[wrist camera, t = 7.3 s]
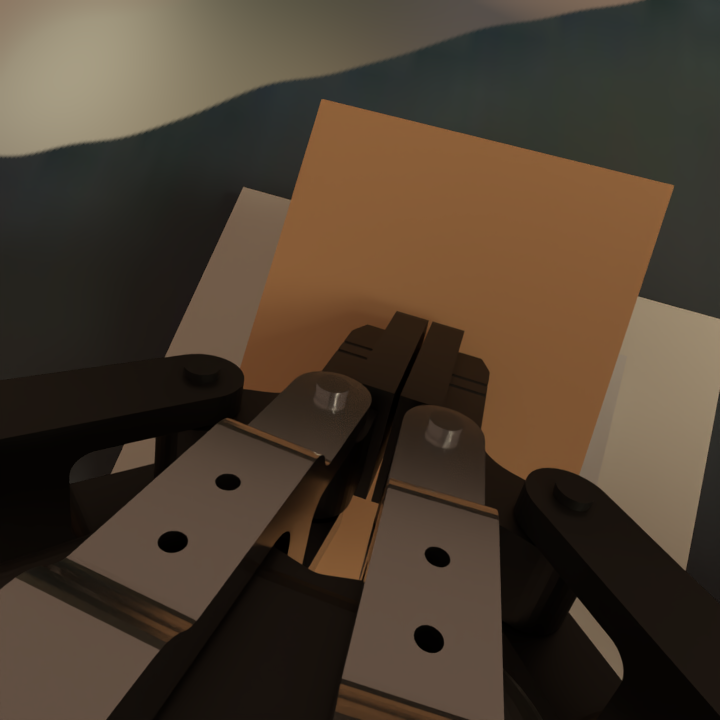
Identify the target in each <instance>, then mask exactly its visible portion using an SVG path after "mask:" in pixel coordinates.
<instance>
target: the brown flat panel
mask: <svg viewBox="0 0 720 720" xmlns="http://www.w3.org/2000/svg"><path fill="white" fill-rule="evenodd" d="M673 188H674V185H670V184H666V183H662V182H658V181H654V180H650V179H646V178H641V177H637V176H633V175H629V174H625V173H621V172H617V171H613V170H609V169H605V168H601V167H597V166H593V165H589V164H585V163H580V162H576V161H572V160H568V159H564V158H560V157H556V156H552V155H548V154H544V153H540V152H536V151H532V150H528V149H523V148H519V147H515V146H511V145H507V144H503V143H499V142H495V141H491V140H487V139H483V138H479V137H475V136H471V135H467V134H462V133H458V132H454V131H450V130H446V129H442V128H438V127H434V126H430V125H426V124H422V123H418V122H414V121H410V120H405V119H401V118H397V117H393V116H389V115H385V114H381V113H377V112H373V111H369V110H365V109H361V108H357V107H353V106H349V105H344V104H340V103H336V102H332V101H328V100H324V99H322V100H321V103H320V107H319V110H318V113H317V116H316V120H315V123H314V126H313V130H312V133H311V136H310V139H309V143H308V146H307V149H306V153H305V156H304V159H303V162H302V166H301V169H300V172H299V176H298V179H297V182H296V185H295V189H294V192H293V195H292V199H291V202H290V205H289V208H288V212H287V215H286V218H285V222H284V225H283V228H282V231H281V235H280V238H279V241H278V245H277V248H276V251H275V254H274V258H273V261H272V264H271V268H270V271H269V274H268V277H267V281H266V284H265V287H264V291H263V294H262V297H261V300H260V304H259V307H258V310H257V314H256V317H255V320H254V323H253V327H252V330H251V333H250V337H249V340H248V343H247V346H246V350H245V353H244V356H243V360H242V363H241V366H240V369H241V370H242V372H243V374H244V386H243V389H248V390H256V391H264V392H274V393H281V392H282V391H283V390H284V389H285V388H286V387H287V386H288V385H289V384H290V383H291V382H292V381H293V380H295V379H296V378H297V377H298V376H300V375H302V374H305V373H308V372H315V371H322V370H323V368H324V367H325V366H326V364H327V363H328V362H329V360H330V359H331V358H332V356H333V355H334V354H335V352H336V351H338V348H339V347H340V346H341V344H342V343H343V342H344V340H345V339H346V338H347V336H348V335H349V334H350V332H351V331H352V330H354V329H357V328H359V327H362V326H365V325H367V324H368V325H371V326H374V327H378V328H381V329H384V330H385V329H386V327H387V326H388V324H389V322H390V321H391V319H392V318H393V316H394V314H395V313H396V311H399V312H403V313H406V314H409V315H413V316H416V317H419V318H423V319H426V320H429V321H428V326H427V330H426V334H425V337H424V340H425V338H426V335H427V333H428V331H429V328H430V326H431V324H432V322H437V323H440V324H443V325H447V326H450V327H453V328H457V329H460V330H463V331H464V335H463V338H462V342H461V345H460V349H459V352H461V353H464V354H467V355H470V356H474V357H477V358H480V359H482V360H483V362H484V363H485V365H486V367H487V368H488V370H489V372H490V375H489V382H488V386H487V387H488V388H487V395H486V401H485V407H484V414H483V420H482V427H481V430H482V432H483V434H484V436H485V451H486V452H487V454H488V455H489V456H490V457H491V458H492V459H493V460H494V461H495V462H497V463H498V464H499V465H500V466H502V467H503V468H505V469H506V470H508V471H510V472H511V473H513V474H515V475H517V476H519V477H521V478H522V479H524V480H526V478H527V476H528V475H529V474H530V473H531V472H532V471H534V470H536V469H540V468H557V469H562V470H566V471H569V472H572V473H575V474H577V475H579V474H580V471H581V468H582V465H583V462H584V459H585V456H586V453H587V450H588V447H589V444H590V441H591V438H592V435H593V431H594V428H595V425H596V422H597V419H598V416H599V413H600V410H601V407H602V404H603V401H604V398H605V395H606V392H607V389H608V386H609V383H610V380H611V377H612V374H613V371H614V368H615V364H616V361H617V358H618V355H619V352H620V349H621V346H622V343H623V340H624V337H625V334H626V331H627V328H628V325H629V322H630V319H631V316H632V313H633V310H634V307H635V304H636V300H637V297H638V294H639V291H640V288H641V285H642V282H643V279H644V276H645V273H646V270H647V267H648V264H649V261H650V258H651V255H652V252H653V249H654V246H655V243H656V240H657V237H658V233H659V230H660V227H661V224H662V221H663V218H664V215H665V212H666V209H667V206H668V203H669V200H670V197H671V194H672V191H673ZM423 342H424V341H423ZM382 460H383V459H382ZM381 463H382V461H381ZM380 467H381V464H380V466H379V469H378V471H377V473H376V476H375V478H374V481H373V483H372V486H371V488H370V491H369V493H368V495H367V498H366V499H363V498H360V497H357V496H354V495H353V497H352V499H351V501H350V504H349V505H348V507H347V508H346V509H345V510H344V513H343V517H342V521H341V524H340V527H339V528H338V530H337V532H336V534H335V535H334V537H333V539H332V541H331V543H330V544H329V546H328V548H327V550H326V551H325V553H324V555H323V557H322V558H321V560H320V562H319V564H318V565H317V567H316V569H315V571H314V572H316V573H319V574H323V575H330V576H336V577H343V578H350V579H356V580H358V579H359V575H360V571H361V567H362V563H363V559H364V555H365V552H366V548H367V544H368V540H369V536H370V533H371V529H372V526H373V522H374V519H375V516H376V512H377V508H378V505H379V504H378V503H375V502H372V501H371V499H372V496H373V492H374V488H375V485H376V481H377V478H378V474H379V470H380Z"/></svg>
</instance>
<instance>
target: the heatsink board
mask: <svg viewBox="0 0 720 720" xmlns="http://www.w3.org/2000/svg"><path fill="white" fill-rule="evenodd" d="M290 202H291V200H289V199H285V198H281V197H278V196H274V195H271V194H267V193H263V192H260V191H256V190H253V189H249V188H245V187H243V189H242V191H241V193H240V196H239V198H238V200H237V202H236V204H235V206H234V209H233V211H232V213H231V215H230V217H229V219H228V221H227V224H226V226H225V228H224V230H223V232H222V234H221V237H220V239H219V241H218V243H217V245H216V247H215V250H214V252H213V254H212V256H211V258H210V260H209V263H208V265H207V267H206V269H205V271H204V273H203V276H202V278H201V280H200V282H199V284H198V286H197V289H196V291H195V293H194V295H193V297H192V299H191V302H190V304H189V306H188V308H187V310H186V312H185V315H184V317H183V319H182V321H181V323H180V325H179V327H178V330H177V332H176V334H175V336H174V338H173V340H172V343H171V345H170V347H169V349H168V351H167V353H166V356H165V357H171V356H178V355H185V354H207V355H214V356H217V357H221V358H224V359H227V360H229V361H231V362H232V363H234V364H236V365H237V366H238V367H239V368H240V366H241V363H242V360H243V356H244V353H245V350H246V346H247V343H248V340H249V337H250V333H251V330H252V327H253V323H254V320H255V317H256V314H257V310H258V307H259V304H260V300H261V297H262V294H263V291H264V287H265V284H266V281H267V277H268V274H269V271H270V268H271V264H272V261H273V258H274V254H275V251H276V248H277V245H278V241H279V238H280V235H281V231H282V228H283V225H284V222H285V218H286V215H287V212H288V208H289V205H290ZM719 390H720V319H717V318H714V317H710V316H706V315H703V314H699V313H696V312H692V311H688V310H685V309H681V308H678V307H674V306H670V305H667V304H663V303H660V302H656V301H652V300H649V299H645V298H642V297H637V300H636V304H635V307H634V310H633V313H632V316H631V319H630V322H629V325H628V328H627V331H626V334H625V337H624V340H623V343H622V346H621V349H620V352H619V355H618V358H617V361H616V364H615V368H614V371H613V374H612V377H611V380H610V383H609V386H608V389H607V392H606V395H605V398H604V401H603V404H602V407H601V410H600V413H599V416H598V419H597V422H596V425H595V428H594V431H593V435H592V438H591V441H590V444H589V447H588V450H587V453H586V456H585V459H584V462H583V465H582V468H581V471H580V474H579V476H581V477H583V478H585V479H587V480H589V481H590V482H592V483H594V484H595V485H596V486H598V487H599V488H600V489H601V490H603V491H604V492H605V493H606V494H607V495H608V496H609V497H610V498H611V499H612V500H613V501H614V502H615V503H616V504H617V505H618V506H619V507H620V508H621V509H622V510H623V511H624V512H625V513H626V514H627V515H628V516H630V517H631V518H632V519H633V520H634V521H635V522H636V523H637V524H638V525H639V526H640V527H641V528H642V529H643V530H644V531H645V532H646V533H647V534H648V535H649V536H650V537H651V538H652V539H653V540H654V541H655V542H656V543H657V544H658V545H659V546H660V547H661V548H662V549H663V550H664V551H665V552H667V553H668V554H669V555H670V556H671V557H672V558H673V559H674V560H675V561H676V562H677V563H678V564H679V565H680V566H681V567H682V568H683V569H684V570H685V571H686V567H687V562H688V556H689V551H690V545H691V540H692V535H693V529H694V524H695V519H696V513H697V508H698V503H699V497H700V492H701V487H702V481H703V476H704V470H705V465H706V460H707V454H708V449H709V444H710V438H711V433H712V428H713V422H714V417H715V412H716V406H717V401H718V395H719ZM155 438H156V437H155ZM155 438H151V439H146V440H142V441H137V442H133V443H128V444H124V446H123V449H122V451H121V453H120V455H119V457H118V459H117V462H116V464H115V466H114V468H113V470H112V472H111V474H113V473H117V472H121V471H125V470H129V469H133V468H137V467H141V466H145V465H149V464H153V463H154V460H155ZM569 613H570V614H571V616H572V617H573V618H574V619H575V621H576V622H577V623H578V625H579V626H580V627H581V628H582V630H583V631H584V632H585V634H586V635H587V636H588V637H589V639H590V640H591V641H592V643H593V644H594V645H595V647H596V648H597V649H598V650H599V652H600V653H601V654H602V656H603V657H604V658H605V659H606V661H607V662H608V663H609V665H610V666H611V667H612V668H613V670H614V671H615V672H616V674H617V675H618V676H619V677H620V679H621V680H622V679H623V664H622V660H621V656H620V654H619V651H618V649H617V647H616V646H615V644H614V642H613V641H612V640H611V638H610V637H609V636H608V635H607V633H606V632H605V631H604V630H603V628H602V627H601V626H600V625H599V624H598V622H597V621H596V620H595V619H594V617H593V616H592V615H591V614H590V612H589V611H588V610H587V609H586V607H585V606H584V605H583V604H582V602H581V601H580V600H579V599H578V598H576V600H575V602H574V603H573V605H572V607H571V609H570V611H569Z"/></svg>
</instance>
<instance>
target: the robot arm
mask: <svg viewBox="0 0 720 720" xmlns="http://www.w3.org/2000/svg"><path fill="white" fill-rule="evenodd" d="M428 321H429V320H426V319H423V318H419V317H416V316H413V315H409V314H406V313H403V312H399V311H396V313H395V314H394V316H393V318H392V319H391V321H390V322H389V324H388V326H387V327H386V329H385V330H384V329H381V328H378V327H374V326H371V325H368V324H367V325H365V326H362V327H359V328H357V329H354V330H352V331H351V332H350V334H349V335H348V336H347V338H346V339H345V340H344V342H343V343H342V344H341V346H340V347H339V348H338V351H336V352H335V354H334V355H333V356H332V358H331V359H330V360H329V362H328V363H327V364H326V366H325V367H324V368H323V370H322V371H315V372H308V373H305V374H302V375H300V376H298V377H297V378H296V379H295V380H293V381H292V382H291V383H290V384H289V385H288V386H287V387H286V388H285V389H284V390H283V391H282V392H281V393H274V392H264V391H256V390H248V389H243V386H244V374H243V372H242V370H241V369H240V368H239V367H238V366H237V365H236V364H234V363H232V362H231V361H229V360H227V359H224V358H221V357H217V356H214V355H207V354H185V355H178V356H171V357H164V358H157V359H150V360H142V361H135V362H128V363H121V364H114V365H107V366H100V367H92V368H85V369H78V370H71V371H64V372H57V373H50V374H42V375H35V376H28V377H21V378H14V379H7V380H0V720H720V604H719V603H718V602H717V601H716V600H715V599H714V598H713V597H712V596H711V595H710V594H709V593H708V592H707V591H706V590H705V589H704V588H703V587H701V586H700V585H699V584H698V583H697V582H696V581H695V580H694V579H693V578H692V577H691V576H690V575H689V574H688V573H687V572H686V571H685V570H684V569H683V568H682V567H681V566H680V565H679V564H678V563H677V562H676V561H675V560H674V559H673V558H672V557H671V556H670V555H669V554H668V553H667V552H665V551H664V550H663V549H662V548H661V547H660V546H659V545H658V544H657V543H656V542H655V541H654V540H653V539H652V538H651V537H650V536H649V535H648V534H647V533H646V532H645V531H644V530H643V529H642V528H641V527H640V526H639V525H638V524H637V523H636V522H635V521H634V520H633V519H632V518H631V517H630V516H628V515H627V514H626V513H625V512H624V511H623V510H622V509H621V508H620V507H619V506H618V505H617V504H616V503H615V502H614V501H613V500H612V499H611V498H610V497H609V496H608V495H607V494H606V493H605V492H604V491H603V490H601V489H600V488H599V487H598V486H596V485H595V484H594V483H592V482H590V481H589V480H587V479H585V478H583V477H581V476H579V475H577V474H575V473H572V472H569V471H566V470H562V469H557V468H540V469H536V470H534V471H532V472H531V473H530V474H529V475H528V476H527V478H526V480H524V479H522V478H521V477H519V476H517V475H515V474H513V473H511V472H510V471H508V470H506V469H505V468H503V467H502V466H500V465H499V464H498V463H497V462H495V461H494V460H493V459H492V458H491V457H490V456H489V455H488V454H487V452H486V451H485V436H484V434H483V432H482V430H481V427H482V420H483V414H484V407H485V401H486V395H487V388H488V387H487V386H488V382H489V375H490V372H489V370H488V368H487V367H486V365H485V363H484V362H483V360H482V359H480V358H477V357H474V356H470V355H467V354H464V353H461V352H459V349H460V345H461V342H462V338H463V335H464V331H463V330H460V329H457V328H453V327H450V326H447V325H443V324H440V323H437V322H432V324H431V326H430V328H429V331H428V333H427V335H426V338H425V340H424V337H425V334H426V330H427V326H428ZM423 341H424V342H423ZM155 437H156V438H155ZM151 438H155V460H154V463H153V464H149V465H145V466H141V467H137V468H133V469H129V470H125V471H121V472H117V473H113V474H109V475H105V476H101V477H97V478H93V479H89V480H85V481H81V482H77V483H72V484H69V473H70V470H71V468H72V466H73V465H74V464H75V462H76V461H77V460H79V459H80V458H81V457H82V456H84V455H86V454H88V453H90V452H93V451H97V450H101V449H106V448H110V447H115V446H119V445H124V444H128V443H133V442H137V441H142V440H146V439H151ZM382 459H383V460H382ZM381 461H382V463H381ZM380 464H381V467H380V470H379V474H378V478H377V481H376V485H375V488H374V492H373V496H372V499H371V501H372V502H375V503H378V504H379V505H378V508H377V512H376V516H375V519H374V522H373V526H372V529H371V533H370V536H369V540H368V544H367V548H366V552H365V555H364V559H363V563H362V567H361V571H360V575H359V579H358V580H356V579H350V578H343V577H336V576H330V575H323V574H319V573H316V572H314V571H315V569H316V567H317V565H318V564H319V562H320V560H321V558H322V557H323V555H324V553H325V551H326V550H327V548H328V546H329V544H330V543H331V541H332V539H333V537H334V535H335V534H336V532H337V530H338V528H339V527H340V524H341V521H342V517H343V513H344V510H345V509H346V508H347V507H348V505H349V504H350V501H351V499H352V497H353V495H354V496H357V497H360V498H363V499H366V498H367V495H368V493H369V491H370V488H371V486H372V483H373V481H374V478H375V476H376V473H377V471H378V469H379V466H380ZM576 598H578V599H579V600H580V601H581V602H582V604H583V605H584V606H585V607H586V609H587V610H588V611H589V612H590V614H591V615H592V616H593V617H594V619H595V620H596V621H597V622H598V624H599V625H600V626H601V627H602V628H603V630H604V631H605V632H606V633H607V635H608V636H609V637H610V638H611V640H612V641H613V642H614V644H615V646H616V647H617V649H618V651H619V654H620V656H621V660H622V664H623V679H622V680H621V679H620V677H619V676H618V675H617V674H616V672H615V671H614V670H613V668H612V667H611V666H610V665H609V663H608V662H607V661H606V659H605V658H604V657H603V656H602V654H601V653H600V652H599V650H598V649H597V648H596V647H595V645H594V644H593V643H592V641H591V640H590V639H589V637H588V636H587V635H586V634H585V632H584V631H583V630H582V628H581V627H580V626H579V625H578V623H577V622H576V621H575V619H574V618H573V617H572V616H571V614H570V613H569V611H570V609H571V607H572V605H573V603H574V602H575V600H576Z"/></svg>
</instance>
